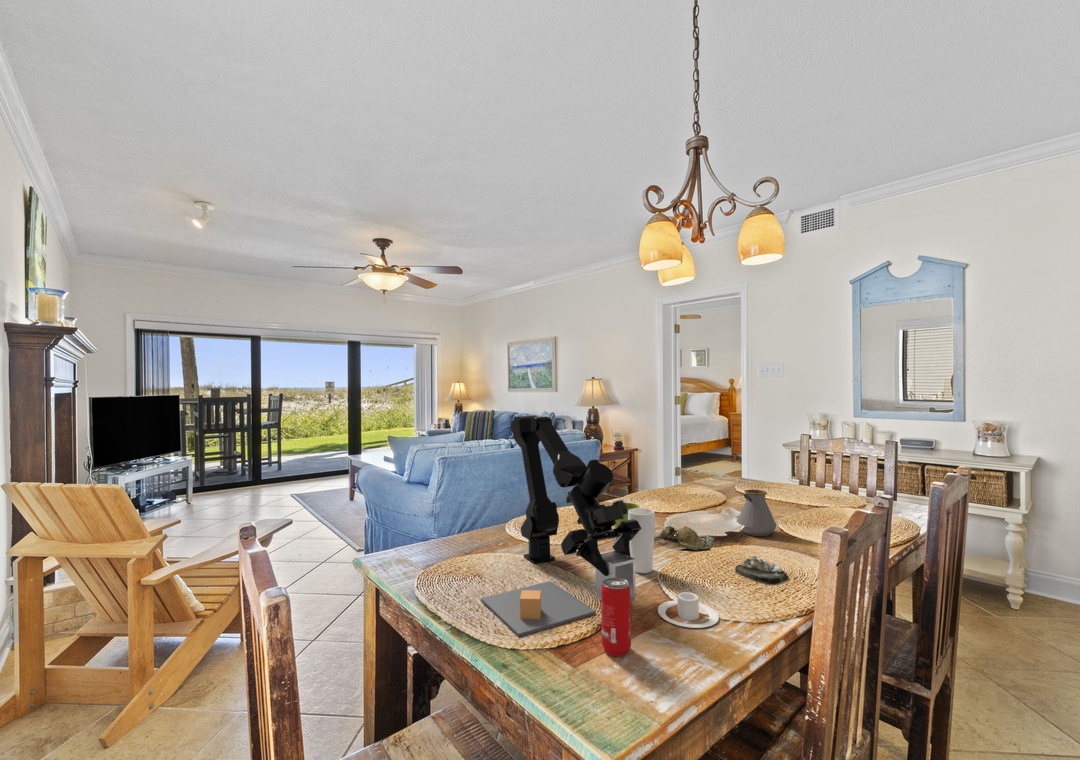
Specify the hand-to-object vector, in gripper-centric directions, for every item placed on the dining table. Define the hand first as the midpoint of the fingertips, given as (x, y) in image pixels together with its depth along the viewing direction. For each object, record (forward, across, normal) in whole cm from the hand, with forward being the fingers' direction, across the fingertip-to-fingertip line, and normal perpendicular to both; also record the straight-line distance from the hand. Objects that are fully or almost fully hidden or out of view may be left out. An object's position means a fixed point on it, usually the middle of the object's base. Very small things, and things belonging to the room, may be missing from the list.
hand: (619, 572), depth 106 cm
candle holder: (+13, +10, -1) cm, 16 cm away
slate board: (-1, -15, +12) cm, 19 cm away
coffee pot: (-6, +65, +17) cm, 67 cm away
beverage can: (+14, -11, -4) cm, 18 cm away
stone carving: (+9, +41, +3) cm, 42 cm away
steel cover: (+3, 0, +5) cm, 6 cm away
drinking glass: (-4, +18, +15) cm, 24 cm away
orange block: (+1, -18, +9) cm, 20 cm away
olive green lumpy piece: (-11, +45, +23) cm, 52 cm away
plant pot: (-22, +34, +33) cm, 53 cm away
